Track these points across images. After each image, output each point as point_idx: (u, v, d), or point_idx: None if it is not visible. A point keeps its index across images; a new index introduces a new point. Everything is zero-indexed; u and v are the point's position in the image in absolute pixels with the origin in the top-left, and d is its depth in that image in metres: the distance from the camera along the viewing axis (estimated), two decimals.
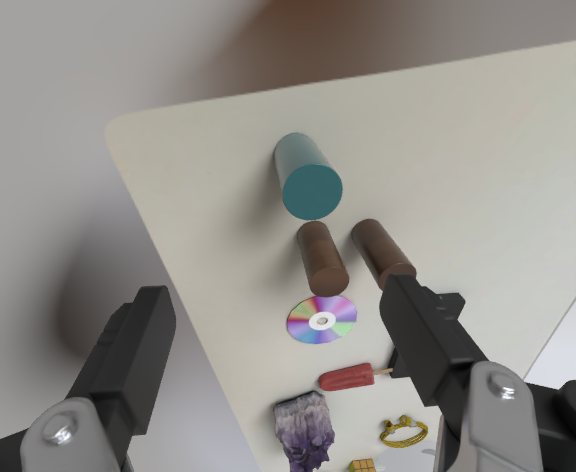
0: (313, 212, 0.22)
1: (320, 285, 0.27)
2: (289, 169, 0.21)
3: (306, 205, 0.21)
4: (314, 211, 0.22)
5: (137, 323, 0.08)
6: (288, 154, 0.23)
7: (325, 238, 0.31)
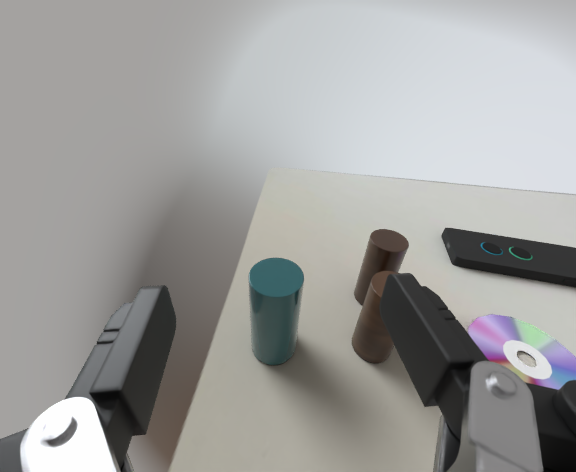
0: (295, 278, 0.23)
1: None
2: (252, 295, 0.23)
3: (286, 281, 0.23)
4: (294, 277, 0.23)
5: (137, 323, 0.08)
6: (251, 315, 0.25)
7: (360, 314, 0.28)
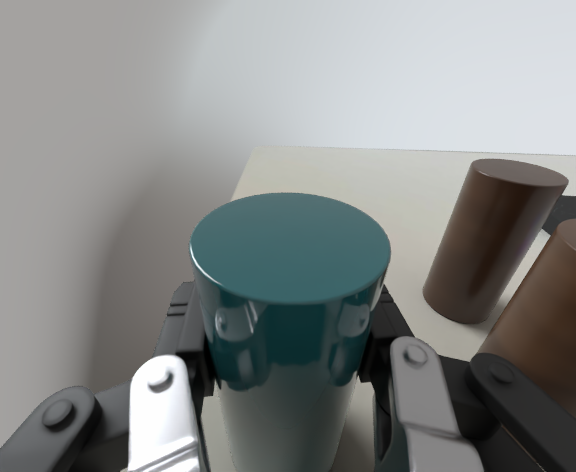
0: (359, 235, 0.06)
1: None
2: (204, 306, 0.06)
3: (330, 246, 0.06)
4: (354, 232, 0.07)
5: None
6: (214, 374, 0.08)
7: (491, 340, 0.11)
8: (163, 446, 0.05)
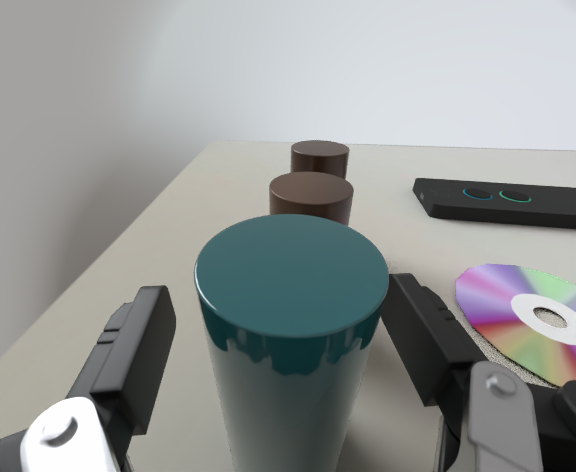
0: (359, 261, 0.07)
1: (313, 193, 0.12)
2: (209, 333, 0.06)
3: (330, 273, 0.06)
4: (353, 258, 0.07)
5: (137, 323, 0.08)
6: (218, 392, 0.08)
7: None
8: None
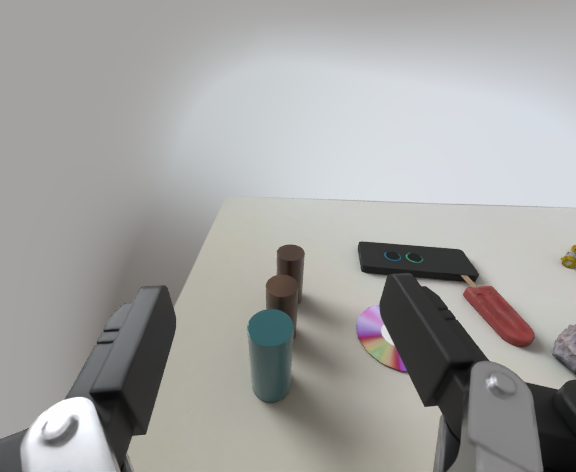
0: (286, 327, 0.27)
1: (282, 290, 0.33)
2: (251, 345, 0.27)
3: (279, 331, 0.27)
4: (285, 326, 0.27)
5: (137, 323, 0.08)
6: (251, 361, 0.29)
7: None
8: None
